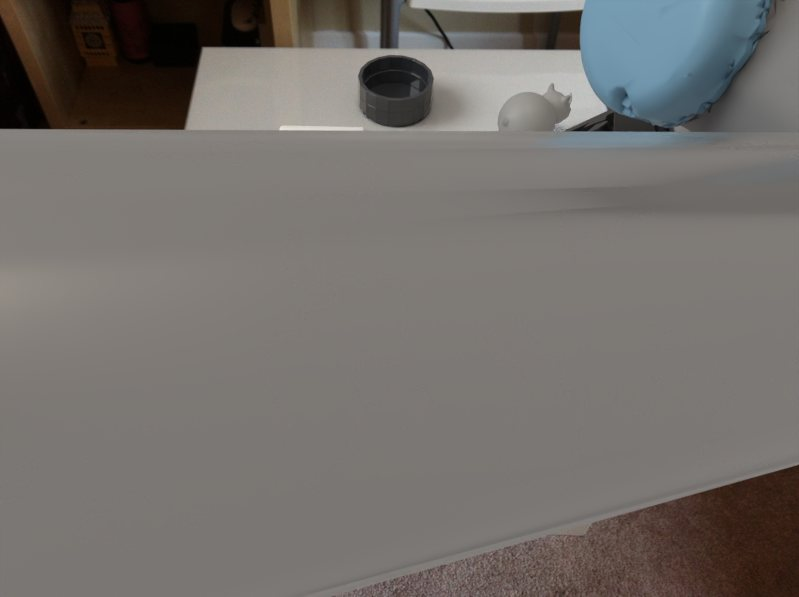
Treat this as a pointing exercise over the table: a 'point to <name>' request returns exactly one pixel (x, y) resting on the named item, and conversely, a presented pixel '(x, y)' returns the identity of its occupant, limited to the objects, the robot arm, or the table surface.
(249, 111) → the table surface
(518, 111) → the round bodied animal figurine
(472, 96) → the table surface
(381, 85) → the dark grey round container
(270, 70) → the table surface
